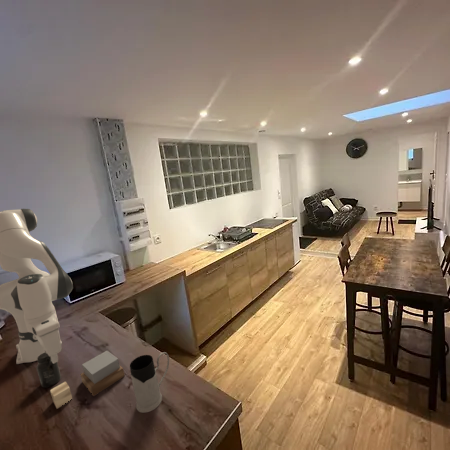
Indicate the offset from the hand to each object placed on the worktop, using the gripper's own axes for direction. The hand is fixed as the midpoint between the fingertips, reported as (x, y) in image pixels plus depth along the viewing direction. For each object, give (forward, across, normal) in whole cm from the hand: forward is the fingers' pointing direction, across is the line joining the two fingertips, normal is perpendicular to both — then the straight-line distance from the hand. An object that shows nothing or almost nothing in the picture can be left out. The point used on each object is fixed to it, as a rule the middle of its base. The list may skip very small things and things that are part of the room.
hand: (51, 356), depth 91 cm
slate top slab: (+14, +1, +14) cm, 20 cm away
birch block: (+18, 0, 0) cm, 18 cm away
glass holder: (+18, +28, +22) cm, 40 cm away
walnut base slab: (+18, +2, +14) cm, 23 cm away
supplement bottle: (+18, -16, 0) cm, 24 cm away
